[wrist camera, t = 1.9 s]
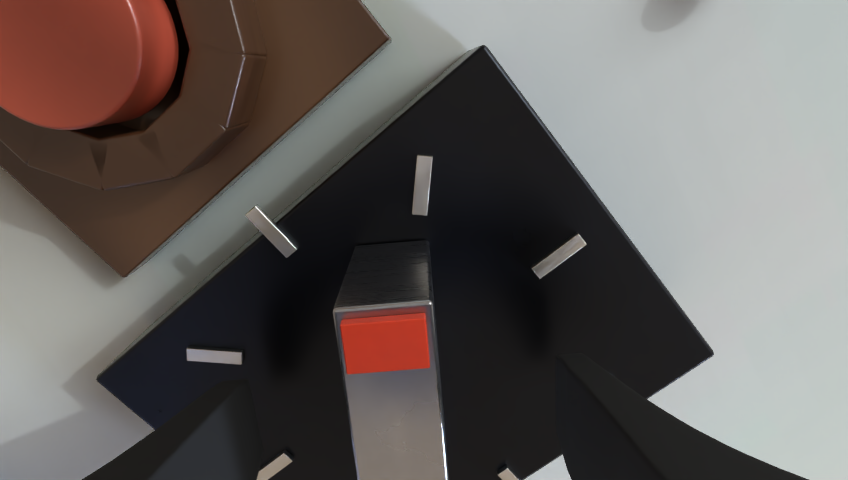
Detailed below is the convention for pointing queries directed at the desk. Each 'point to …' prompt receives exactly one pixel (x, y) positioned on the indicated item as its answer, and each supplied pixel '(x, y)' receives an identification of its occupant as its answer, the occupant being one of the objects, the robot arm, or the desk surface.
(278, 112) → the button block
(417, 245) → the knob
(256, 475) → the robot arm
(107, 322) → the desk surface
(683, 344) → the dial base
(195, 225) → the desk surface
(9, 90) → the button
